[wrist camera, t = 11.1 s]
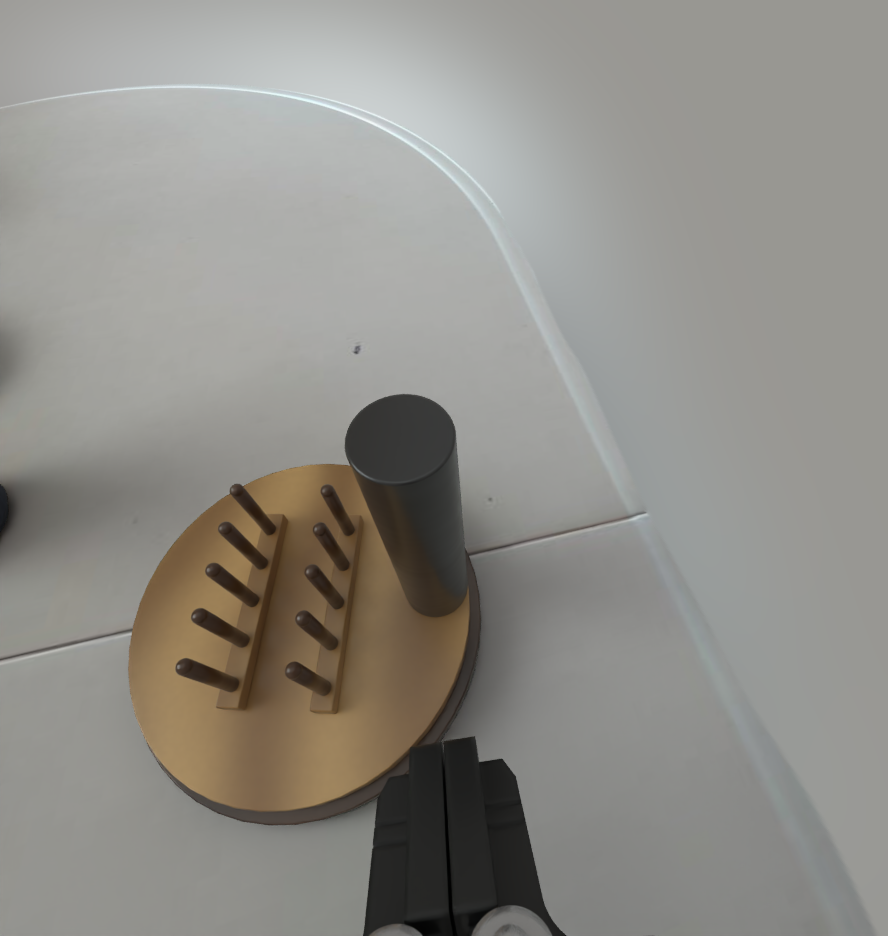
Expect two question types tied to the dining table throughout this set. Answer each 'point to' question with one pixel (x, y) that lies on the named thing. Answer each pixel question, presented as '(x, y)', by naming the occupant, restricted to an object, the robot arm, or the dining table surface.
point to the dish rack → (310, 620)
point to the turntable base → (401, 768)
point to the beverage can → (3, 507)
